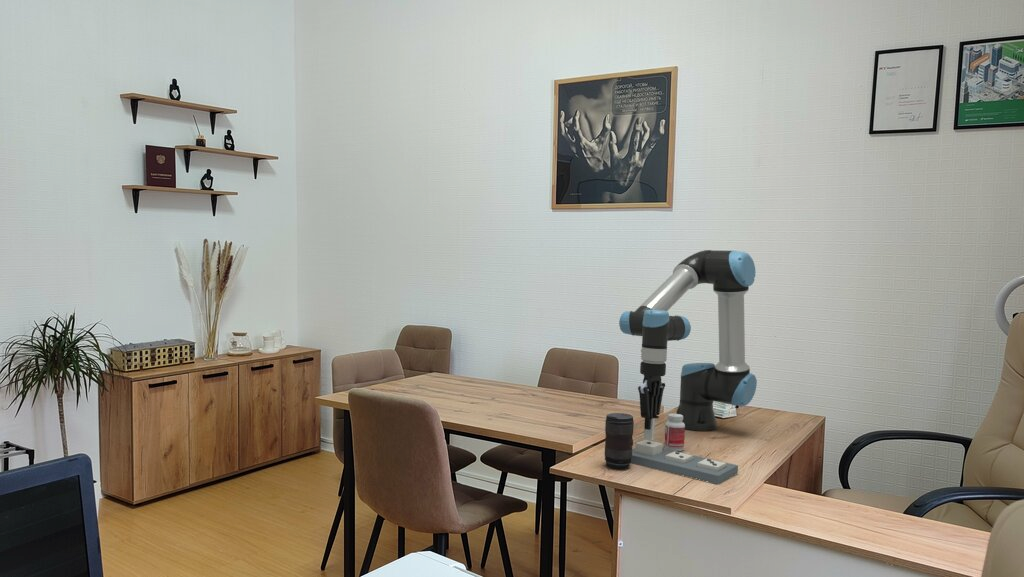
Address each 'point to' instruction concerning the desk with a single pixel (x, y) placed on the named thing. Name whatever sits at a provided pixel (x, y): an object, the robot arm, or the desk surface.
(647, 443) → the tile
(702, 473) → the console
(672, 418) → the pill bottle
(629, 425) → the camera lens
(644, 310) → the robot arm
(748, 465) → the desk surface
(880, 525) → the desk surface
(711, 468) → the tile
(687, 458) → the tile
